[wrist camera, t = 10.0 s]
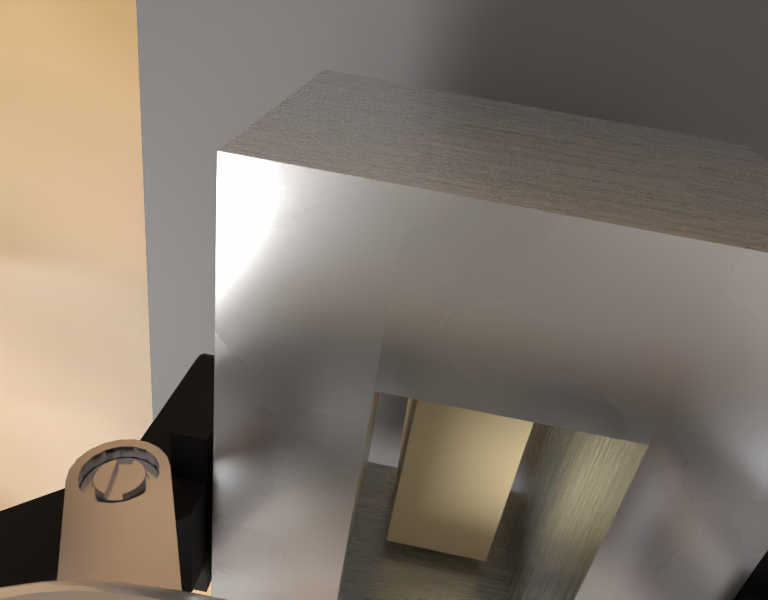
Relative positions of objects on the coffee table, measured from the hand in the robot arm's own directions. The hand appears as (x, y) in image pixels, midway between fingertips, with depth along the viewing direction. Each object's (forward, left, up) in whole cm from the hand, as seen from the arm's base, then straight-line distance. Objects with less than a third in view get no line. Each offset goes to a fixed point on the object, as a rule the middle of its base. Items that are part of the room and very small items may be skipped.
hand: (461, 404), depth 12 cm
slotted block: (0, 0, -1) cm, 1 cm away
